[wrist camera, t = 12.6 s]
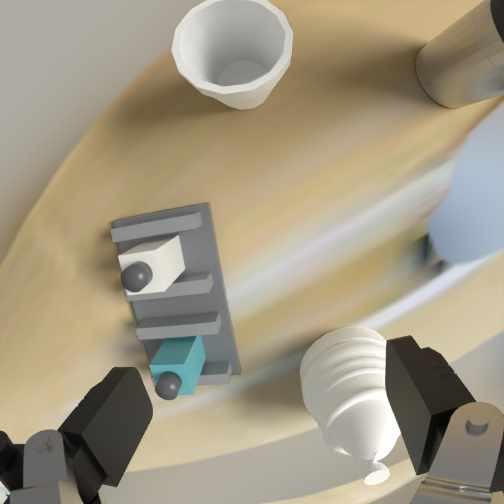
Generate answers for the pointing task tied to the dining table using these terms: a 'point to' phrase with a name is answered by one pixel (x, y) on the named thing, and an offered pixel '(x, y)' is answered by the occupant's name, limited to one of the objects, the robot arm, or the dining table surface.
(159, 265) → the white plug
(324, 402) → the honey pot
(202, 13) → the foam cup
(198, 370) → the teal plug
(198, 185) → the dining table surface
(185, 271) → the comb board
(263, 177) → the dining table surface
